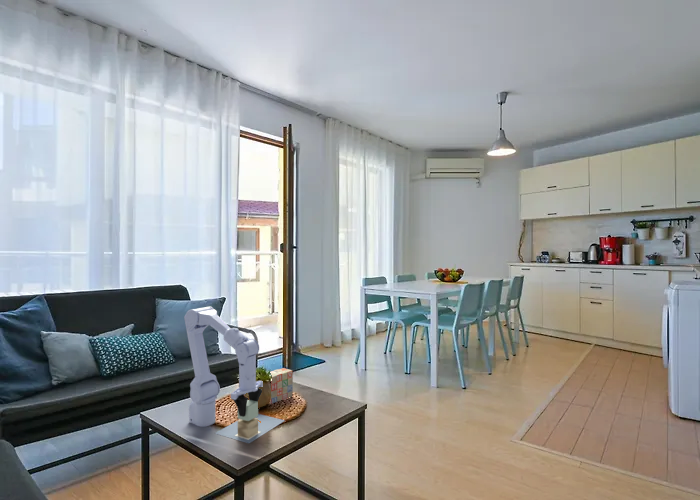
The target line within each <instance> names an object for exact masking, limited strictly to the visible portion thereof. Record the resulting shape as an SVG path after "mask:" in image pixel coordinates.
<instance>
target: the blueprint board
mask: <svg viewBox="0 0 700 500" xmlns="http://www.w3.org/2000/svg"><path fill="white" fill-rule="evenodd" d="M255 418H258V420H259V421H261V423H260V422H259V421H258V433H256V434H255V435H253V436H252V437H250V438H245V437H242V436H239V435H238V421H239V420H241V419H238V420H236V421H234V422H233V423H231V424H229V425H227V426H225V427H223V428H221V429H220V430H218V431H216V432H214V434H216V435H219V436H222V437H226V438H229V439H233V440H236V441H240V442H243V443H246V444H251V443H253V442H254V441H255V440H257V439H258V438H260V437H262V436H263V435H265V434H266V433H268V432H269V431H271V430H273V429H274V428H275V427H277V426H279V425H280V424H282V423H283V422H285V421H286V420H284V419H281V418H278V417H277V418H276V417H273V416H268V415H265V414H261V413H258V416H257V417H255Z"/></svg>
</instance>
